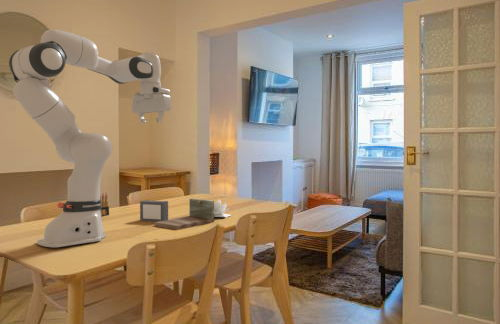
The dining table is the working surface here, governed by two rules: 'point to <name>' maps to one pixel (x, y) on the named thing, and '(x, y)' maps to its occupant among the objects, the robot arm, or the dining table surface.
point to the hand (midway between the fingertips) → (151, 122)
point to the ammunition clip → (104, 205)
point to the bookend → (192, 216)
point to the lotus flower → (220, 209)
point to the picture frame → (153, 211)
